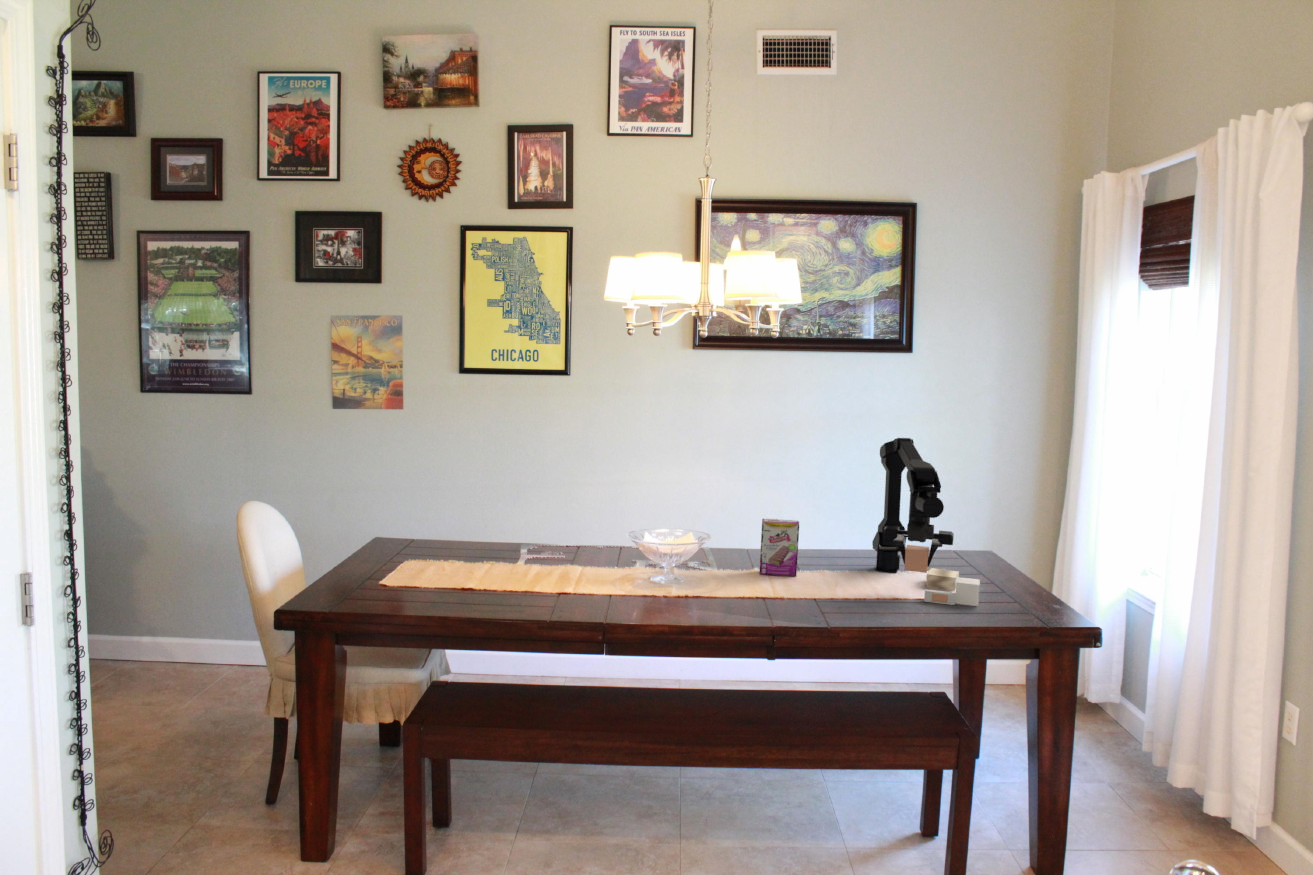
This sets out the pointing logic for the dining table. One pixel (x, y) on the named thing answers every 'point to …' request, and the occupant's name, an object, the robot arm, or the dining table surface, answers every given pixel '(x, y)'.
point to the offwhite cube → (967, 591)
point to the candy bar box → (779, 547)
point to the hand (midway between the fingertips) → (916, 565)
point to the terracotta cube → (916, 558)
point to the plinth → (939, 597)
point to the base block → (942, 579)
